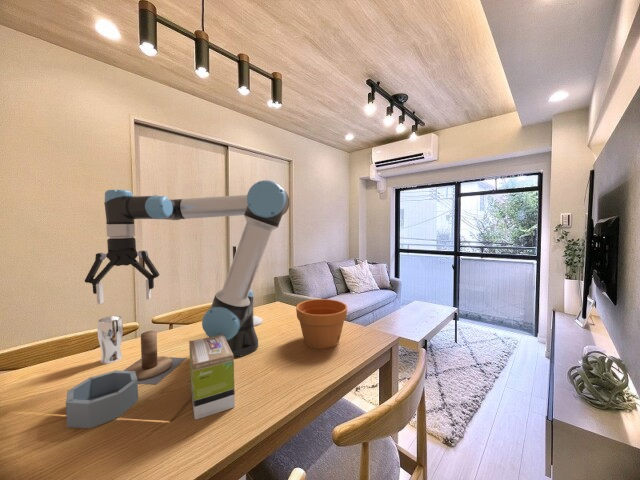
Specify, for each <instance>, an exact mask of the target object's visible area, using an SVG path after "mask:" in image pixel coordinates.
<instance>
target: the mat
mask: <svg viewBox="0 0 640 480" xmlns="http://www.w3.org/2000/svg"><path fill="white" fill-rule="evenodd" d="M168 357H169V356H168ZM169 358H171V359H172V367H171V368H170V369H169V370H168V371H166V372H165V373H163V374H161V375H159V376H156V377H154V378H150V379H146V380H138V385H153V386H156V385H158V384H159V383H160V382H162V381H163V379H165V378H166V377H167V376H168V375H170V373H172V372H173V371H174V370H175V369H176V368H177V367H179V365H182V363H183V362H185V360H187V359H188V357H172V356H171V357H169ZM138 361H141V358H140V359H138V360H137V361H135V362H134V363H136V362H138ZM127 368H128V367H126V368H125V369H124V370H122V371H126V369H127Z"/></svg>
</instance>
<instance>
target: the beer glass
mask: <svg viewBox="0 0 640 480" xmlns="http://www.w3.org/2000/svg"><path fill="white" fill-rule="evenodd" d="M123 328H124V327H123V319H122V316H121V315H110V316H105V317H102V318H100V319H98V320H97V339H98V343H99V344H98V345H99V347H100V351H101V355H100V356H101V357H100V364H103V365H106V364H113V363H116V362H118V361H120V360H121V359H122V358H123V355H122V348H121V345H122V341H123V334H124V330H123Z"/></svg>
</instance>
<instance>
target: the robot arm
mask: <svg viewBox="0 0 640 480" xmlns="http://www.w3.org/2000/svg"><path fill="white" fill-rule="evenodd" d="M103 204H104V211H105V212H104V213H105V225H106V237H108V238H107V240H106V243H107V253H104V252H97V253H95V259H94V261H93V264H92V266H91V268H90V270H89V271H88V273H87V275H86V278H85V279H84V282H85V283H86V284H88V283H89V284H91V285H92V293H93V295H96V303H97V305H101V304H103V303H104V302H105V301H104V285H103V284H104V283H103V282H101V280H103V278H105V276H106V275H107V274H108V273H109V272H110V271H111V270H112V269H113V267H114V266H116V267H121V266H125V267H126V266H130V265H131V266H132V267H133V268H135V269H136V270H137V271H138V272H140V274H142V275H143V276H144V277H145V278H146V279H145V296H146V300H150V299H151V298H152V290H153V289H154V287H155V283H154V279H156V278H158V277H160V273H159V271H158V269H157V268H156V266H155V265H154V264H153V262H152V260H151V259H150V258H149V254H148V251H147V250H142V251H137V243H136V242H137V241H136V240H137V239H136V238H135V236H136V225H135V220H171V221H179V220H186V219H187V220H188V219H203V218H218V217H222V218H223V217H235V216H236V217H237V216H243V217H244V219H245V222H246V223H245V226H244V229H243V231H242V234H241V237H240V239H239V242H238V245H237V247H236V251H235V253H234V256H233V258H232V262H231V265H230V267H229V271H228V273H227V275H226V279H225V281H224V283H223V286H222V289H220V290H218V291H216V292H215V295H214V297H213V299H212V304H211V306H210V308H208V310H206V312H205V313H204V314H203V317H202V321H201V328H202V330H203V331H204V333H205V335H206V336H207V338H208V337H212V336H217V335H222V334H224V336H225V338H226V341H227V343H228V345H229V347H230V349H231V351H232V353H233V356H234V358H237V357H243V356H246V355H250V354H252V353H253V352H255V351H257V349H259V338H258V335H257V333H256V329H255V326H254V323H253V321H254V320H253V316H254V299H255V297H254V291H253V290H252V285H253V283H254V280H255V278H256V275H257V272H258V269H259V267H260V263H261V262H262V258H263V255H264V253H265V250H266V248H267V245H268V242H269V240H270V236H271V233H272V231H274V230H276V229H278V228H279V226H280V223H281V221H282V218H283V216H284V215H285V214H286V213H287V212H288V210H289V207H290V197H289V195H288V192H287V191H286V190H285V189H284V188H283V186H282V185H281V184H279V183H277V182H275V181H273V180H269V179H268V180H267V179H264V180H259V181H258V182H255V183H253V185H251V187H250V188H249V190H248V191H247V194H240V195H225V196H212V197H211V196H210V197H209V196H207V197H193V198H192V197H191V198H177V199H176V198H175V199H172V198H171V199H169V197H168V196H167V195H166V196H165V195H158V194H155V195H154V194H153V195H141V196H140V195H136V196H135V195H134V194H133V192H132V191H130V190H127V189H108V190H106V191H105V192H104V203H103ZM137 257H140V259H142V261H143V262H144V264H145V265H146V267H147V268H148V269H149V270H147V269H146V268H145V267H144V266H143V265H142V264H141V263H140V262H139V260H137ZM106 258H107V259H108V261H109V262H108V263H107V264H106V266H104V268H103V269H102V270H101V271H100V272H99V273H98V271H99V269H100V267H101V265H102V263H103V260H105V259H106ZM97 273H98V274H97ZM96 274H97V276H96ZM250 289H251V290H250Z"/></svg>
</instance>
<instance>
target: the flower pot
mask: <svg viewBox="0 0 640 480" xmlns="http://www.w3.org/2000/svg"><path fill="white" fill-rule="evenodd" d="M295 307H296V308H295V310H296V318H297V320H298V322H299V324H300V327H301V328H300V329H301V334H302V337H303V341H304V342H305V344H306V345H308V346H309V347H311V348H314V349H316V348H317V349H329V348H332V347H335V346H337V345H338V344H339V342H340V339H341V335H342V331H343V326H344V324H345V323H344V322H345V320H347V317H348V316H347V315H348V306H347V304H346V303H344V302H343V301H340V300H336V299H328V298H316V299H315V298H314V299H307V300H304V301H301V302H299V303H298V304H297V305H296V306H295Z"/></svg>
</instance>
